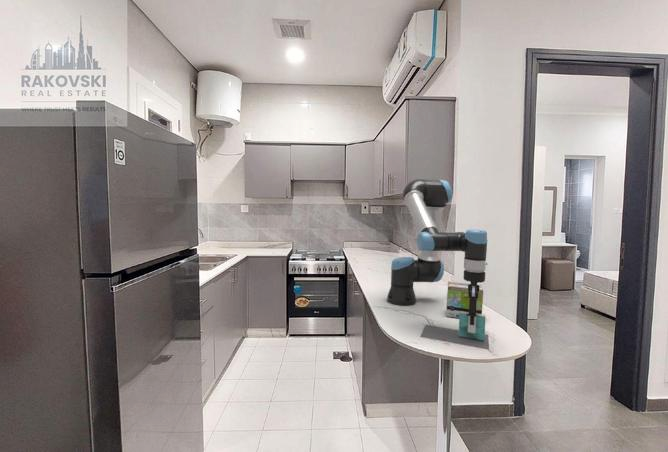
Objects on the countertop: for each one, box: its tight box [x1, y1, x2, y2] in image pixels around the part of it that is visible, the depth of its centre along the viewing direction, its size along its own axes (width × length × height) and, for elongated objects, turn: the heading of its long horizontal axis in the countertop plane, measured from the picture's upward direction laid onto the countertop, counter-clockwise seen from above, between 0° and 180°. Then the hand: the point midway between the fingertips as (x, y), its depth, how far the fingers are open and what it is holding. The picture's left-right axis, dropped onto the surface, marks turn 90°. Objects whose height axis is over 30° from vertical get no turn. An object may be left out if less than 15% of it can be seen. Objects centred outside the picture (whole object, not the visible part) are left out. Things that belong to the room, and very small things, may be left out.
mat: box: [419, 324, 490, 350], centre depth 124 cm, size 24×14×1 cm, turn 65°
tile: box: [458, 311, 486, 340], centre depth 122 cm, size 9×3×9 cm, turn 65°
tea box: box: [445, 281, 484, 319], centre depth 148 cm, size 15×10×15 cm
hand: (471, 330), depth 122 cm, fingers closed on tile, 3 cm apart
